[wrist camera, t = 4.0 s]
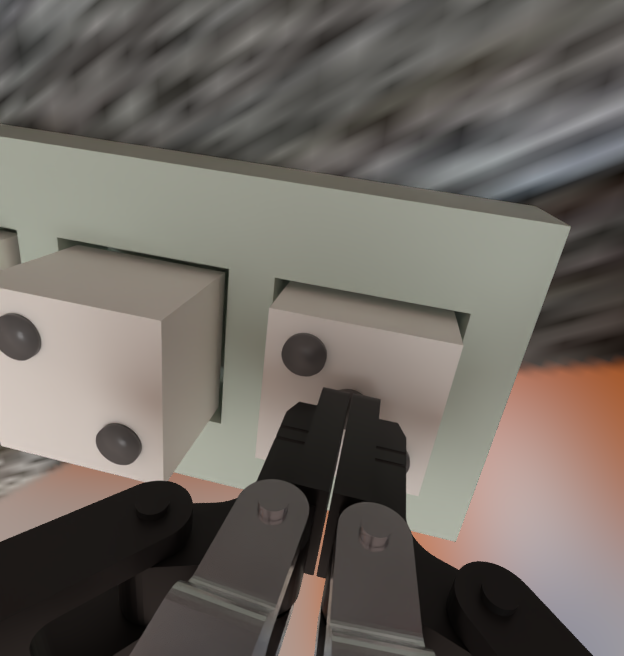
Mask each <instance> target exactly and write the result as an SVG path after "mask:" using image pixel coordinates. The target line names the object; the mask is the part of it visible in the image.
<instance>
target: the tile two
mask: <svg viewBox="0 0 624 656" xmlns="http://www.w3.org/2000/svg"><path fill="white" fill-rule="evenodd" d="M224 285H225V272H221V271H215V270H210V269H205V268H199V267H194V266H189V265H183V264H178V263H173V262H167V261H162V260H156V259H151V258H146V257H140V256H135V255H130V254H124V253H119V252H114V251H108V250H103V249H97V248H92V247H87V246H81V245H75V246H72V247H69V248H66V249H63V250H60V251H57V252H54V253H51V254H48V255H45V256H42V257H39V258H36V259H33V260H30V261H27V262H24V263H21V264H18V265H16V266H13V267H10V268H7V269H4V270H1V271H0V443H1V446H4V447H8V448H12V449H16V450H20V451H24V452H28V453H32V454H36V455H40V456H44V457H48V458H52V459H56V460H60V461H64V462H68V463H72V464H75V465H80V466H83V467H88V468H92V469H96V470H99V471H103V472H107V473H112V474H115V475H120V476H123V477H127V478H131V479H135V480H139V481H143V482H150V481H168V480H169V478H170V477H171V475H172V474H173V472H174V471H175V469H176V468H177V467H178V465H179V464H180V462H181V461H182V459H183V458H184V456H185V455H186V453H187V452H188V451H189V449H190V448H191V446H192V445H193V443H194V442H195V440H196V439H197V438H198V436H199V435H200V433H201V432H202V430H203V429H204V427H205V426H206V424H207V423H208V422H209V420H210V419H211V417H212V416H213V414H214V413H215V411H216V410H217V409H218V407H219V389H220V368H221V348H222V327H223V306H224Z"/></svg>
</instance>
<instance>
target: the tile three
mask: <svg viewBox="0 0 624 656" xmlns="http://www.w3.org/2000/svg"><path fill="white" fill-rule="evenodd" d="M463 346H464V345H463V342H462V338H461V334H460V331H459V327H458V323H457V319H456V316H455V312H454V311H453V310H447V309H442V308H436V307H431V306H426V305H420V304H415V303H409V302H404V301H399V300H393V299H388V298H382V297H377V296H372V295H366V294H361V293H355V292H350V291H345V290H339V289H334V288H328V287H323V286H318V285H312V284H307V283H301V282H296V281H290V282H289V283H288V285H287V286H286V287H285V288H284V290H283V291H282V292H281V293H280V295H279V296H278V297H277V298H276V300H275V301H274V302H273V304H272V305H271V306H270V307H269V314H268V325H267V335H266V346H265V357H264V367H263V378H262V389H261V399H260V410H259V421H258V431H257V442H256V453H255V458H259V459H263V460H266V458H267V456H268V453H269V451H270V449H271V446H272V444H273V442H274V439H275V438H276V435H277V432H278V430H279V428H280V426H281V423H282V421H283V418H284V416H285V414H286V411H288V410H289V409H290V408H292V407H293V406H294V405H295V404H297V403H298V402H304V403H308V404H313V405H317V404H318V401H319V398H320V395H321V392H322V389H323V387H326V388H330V389H335V390H340V391H345V392H349V393H350V399H349V404H348V409H347V415H346V420H345V425H344V430H343V436H342V441H341V446H340V451H339V456H338V461H337V466H336V470H335V475H334V476H335V477H336V474H337V469H338V464H339V459H340V454H341V449H342V445H343V440H344V435H345V430H346V425H347V420H348V415H349V411H350V406H351V401H352V396H353V393H354V394H359V395H364V396H369V397H373V398H378V399H381V403H380V413H379V419H382V420H387V421H391V422H396V423H398V424H399V426H400V427H401V429H402V431H403V433H404V434H405V436H406V494H410V495H415V496H419V492H420V489H421V486H422V482H423V479H424V476H425V472H426V469H427V466H428V462H429V459H430V456H431V452H432V449H433V446H434V442H435V439H436V436H437V432H438V429H439V426H440V422H441V419H442V416H443V412H444V409H445V406H446V402H447V399H448V396H449V392H450V389H451V386H452V382H453V379H454V376H455V372H456V369H457V366H458V362H459V359H460V356H461V352H462V349H463Z"/></svg>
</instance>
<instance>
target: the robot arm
mask: <svg viewBox="0 0 624 656" xmlns="http://www.w3.org/2000/svg"><path fill="white" fill-rule="evenodd" d="M349 399H350V393H349V392H345V391H340V390H335V389H330V388H326V387H323V389H322V392H321V395H320V398H319V401H318V404H317V405H313V404H308V403H304V402H298V403H297V404H295V405H294V406H293V407H292V408H290V409H289V410H288V411H286V414H285V416H284V418H283V421H282V423H281V426H280V428H279V430H278V432H277V435H276V438H275V439H274V442H273V444H272V446H271V449H270V451H269V453H268V456H267V458H266V460H265V463H264V465H263V467H262V469H261V472H260V474H259V476H258V479H257V481H256V482H254V483H252V484H250V485H249V486H247V487H246V488H245V489H244V490H243V491H242V492H241V493H240V495H239V496H238V498H236V499H233V500H230V501H226V502H219V503H193V502H192V499H191V496H190V494H189V493H188V491H187V490H186V489H184V488H183V487H182V486H180V485H178V484H176V483H173V482H169V481H150V482H145V483H142V484H139V485H136V486H134V487H132V488H129V489H127V490H124V491H122V492H120V493H117V494H115V495H112V496H110V497H107V498H105V499H103V500H100V501H98V502H96V503H93V504H91V505H88V506H86V507H83V508H81V509H79V510H76V511H74V512H71V513H69V514H67V515H64V516H62V517H59V518H57V519H55V520H52V521H50V522H47V523H45V524H42V525H40V526H38V527H35V528H33V529H30V530H28V531H26V532H23V533H21V534H18V535H16V536H13V537H11V538H9V539H6V540H4V541H2V542H0V656H278V654H279V651H280V648H281V645H282V642H283V639H284V636H285V633H286V630H287V626H288V623H289V620H290V617H291V614H292V610H293V606H294V603H295V601H296V599H297V597H298V594H299V590H300V587H301V582H302V578H303V574H304V573H306V574H310V575H314V570H315V565H316V561H317V556H318V551H319V546H320V541H321V537H322V532H323V527H324V523H325V518H326V513H327V508H328V504H329V499H330V494H331V489H332V485H333V480H334V475H335V470H336V466H337V461H338V456H339V451H340V446H341V441H342V436H343V430H344V425H345V420H346V415H347V409H348V404H349ZM380 403H381V399H378V398H373V397H369V396H364V395H359V394H354V393H353V396H352V401H351V406H350V411H349V415H348V420H347V425H346V430H345V435H344V440H343V445H342V449H341V454H340V459H339V464H338V469H337V474H336V479H335V483H334V488H333V493H332V498H331V504H330V509H329V514H328V519H327V524H326V530H325V535H324V540H323V546H322V550H321V556H320V561H319V566H318V572H317V576H318V577H322V578H326V581H325V586H324V591H323V597H322V602H321V607H320V612H319V617H318V625H317V636H316V645H315V654H314V656H593V655H592V654H591V653H590V652H589V651H588V650H587V649H586V648H585V647H584V646H583V645H582V643H580V642H579V640H578V639H577V638H576V637H575V636H574V635H573V634H572V633H571V632H570V631H569V630H568V629H567V628H566V626H565V625H564V624H563V623H562V622H561V621H560V620H559V619H558V618H557V617H556V616H555V615H554V614H553V613H552V612H551V611H550V609H549V608H548V607H547V606H546V605H545V604H544V603H543V602H542V601H541V600H540V599H539V598H538V597H537V596H536V595H535V594H534V592H533V591H532V590H531V589H530V588H529V587H528V586H527V585H526V584H525V583H524V582H523V581H521V579H520V578H518V577H517V576H516V575H515V574H513V573H512V572H510V571H509V570H507V569H505V568H503V567H501V566H499V565H496V564H493V563H488V562H481V561H477V562H471V563H468V564H466V565H464V566H463V567H462V568H461V569H460V570H458V569H456V568H454V567H452V566H451V565H449V564H447V563H445V562H443V561H441V560H440V559H438V558H436V557H435V556H433V555H431V554H430V553H429V552H427V551H426V550H425V549H424V548H423V547H422V546H421V545H420V544H419V543H418V542H417V541H416V540H415V538H414V537H413V535H412V534H411V530H410V528H409V526H408V524H407V520H406V436H405V434H404V433H403V431H402V429H401V427H400V426H399V424H398V423H396V422H391V421H387V420H382V419H379V413H380Z"/></svg>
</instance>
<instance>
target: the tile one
mask: <svg viewBox="0 0 624 656" xmlns="http://www.w3.org/2000/svg"><path fill="white" fill-rule="evenodd" d="M18 264H21V257H20V250H19V243H18V236H17V233H12V232H6V231H1V230H0V271H1V270H4V269H7V268H10V267H13V266H16V265H18Z"/></svg>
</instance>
